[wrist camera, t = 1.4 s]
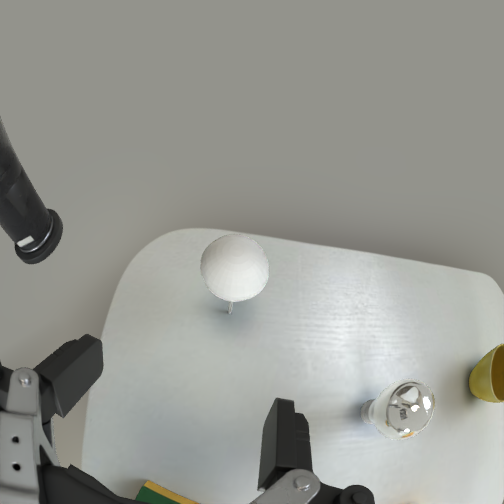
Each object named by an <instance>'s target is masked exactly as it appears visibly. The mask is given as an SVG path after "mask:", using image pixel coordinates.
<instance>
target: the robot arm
mask: <svg viewBox="0 0 504 504" xmlns="http://www.w3.org/2000/svg"><path fill="white" fill-rule="evenodd" d="M0 225H1V227H2V228H3V229H4V230H5V232H6V233H7V234H8V235H9V236H10V238H11V239H12V240H13V241H14V242H15V244H16V245H17V246H18V248H19V249H20V250H21V251H22V252H23V253H26V254H31V253H34V252H36V251H38V250H39V249H41V248H42V247H43V246H44V245H45V244H46V243H47V241H48V240H49V239H50V237H51V235H52V232H53V229H54V219H53V217H52V216H51V214H50V213H49V212H48V210H47V209H46V207H45V206H44V204H43V202H42V201H41V199H40V197H39V196H38V194H37V192H36V190H35V189H34V187H33V185H32V183H31V182H30V180H29V178H28V176H27V174H26V173H25V171H24V169H23V167H22V165H21V163H20V161H19V159H18V157H17V155H16V153H15V151H14V149H13V147H12V145H11V143H10V140H9V138H8V135H7V133H6V131H5V128H4V125H3V123H2V120H1V117H0ZM102 371H103V351H102V342H101V340H99V339H97V338H95V337H93V336H91V335H89V334H85V335H84V336H83V337H81V338H80V339H79V340H76V339H75V340H72V341H69V342H66V343H64V344H63V345H62V346H61V347H59V349H57V350H56V351H55V352H53V354H51V355H50V356H48V357H47V358H46V359H45V360H43V361H42V362H41V363H40V364H39V365H37V366H36V367H35V368H34V369H30V368H19V369H16V370H15V371H13V370H11V369H8V368H6V367H4V366H2V365H1V362H0V504H151V503H148V502H143V501H137V500H132V499H128V498H123V497H120V496H117V495H116V494H114V493H113V492H111V491H110V490H109V489H108V488H106V487H105V486H104V485H102V484H101V483H100V482H99V481H97V480H96V479H95V478H94V477H92V476H90V475H88V474H87V473H85V472H83V471H81V470H80V469H78V468H76V467H75V466H73V465H70V466H69V467H68V469H67V468H64V467H61V466H60V463H59V460H58V457H57V454H56V448H55V438H54V426H53V418H52V416H53V415H54V414H55V413H56V414H58V415H60V416H61V417H62V418H64V417H65V416H66V415H67V413H68V412H69V411H70V410H71V409H72V407H74V405H75V404H76V403H77V402H78V401H79V400H80V398H81V397H82V396H83V395H84V394H85V393H86V392H87V391H88V389H89V388H90V387H91V386H92V385H93V384H94V383H95V382H96V380H97V379H98V378H99V377H100V376H101V374H102ZM309 441H310V436H309V425H308V422H307V420H306V418H305V417H304V415H303V414H301V413H295V409H294V401H292V400H287V399H281V398H276V399H275V400H274V403H273V405H272V407H271V409H270V412H269V414H268V416H267V418H266V420H265V424H264V427H263V435H262V447H261V458H260V469H259V479H258V489H257V491H263V492H264V493H263V494H261V495H260V496H259V497H258V498H256V499H255V500H254V501H252V502H251V503H249V504H375V501H374V496H373V494H372V492H371V491H370V490H369V489H368V488H366V487H364V486H361V485H351V486H349V487H347V488H345V489H344V490H343V489H339V488H336V487H332V486H328V485H326V484H324V483H322V482H320V480H319V479H318V477H317V476H316V475H315V474H314V473H313V469H312V458H311V446H310V442H309Z"/></svg>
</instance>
